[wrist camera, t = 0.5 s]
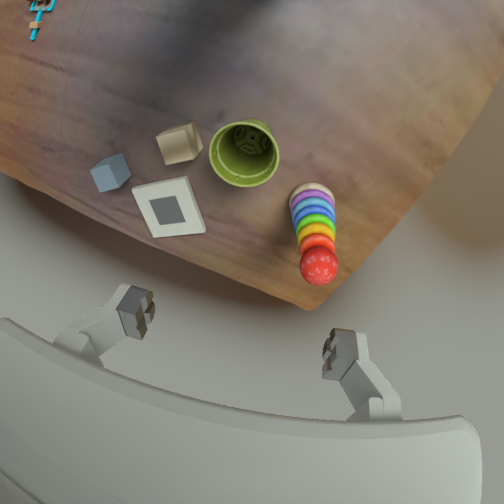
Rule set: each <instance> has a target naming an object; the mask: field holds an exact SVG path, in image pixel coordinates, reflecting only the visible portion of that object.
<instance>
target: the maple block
mask: <svg viewBox="0 0 504 504" xmlns="http://www.w3.org/2000/svg"><path fill="white" fill-rule="evenodd" d="M156 139H157V142H158V145H159V148H160V151H161V153H162V156H163V159H164V162H165V164H166V165H169V164H173V163H178V162H182V161H187V160H192V159H194V158H195V157H196V156H197V155H198V154H199V152H200V151H201V150H202V149H203V145H202V142H201V139H200V135H199V132H198V128H197V125H196V122H195V121H192V122H188V123H184V124H180V125H176V126H173V127H169V128H167V129H166V130H164V131H163V132H162V133H160V134H159V135H158V136H157V137H156Z"/></svg>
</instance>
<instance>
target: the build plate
mask: <svg viewBox="0 0 504 504" xmlns="http://www.w3.org/2000/svg"><path fill="white" fill-rule="evenodd" d="M131 190H132V193H133V195H134V197H135V199H136V202H137V204H138V206H139V208H140V210H141V212H142V215H143V217H144V219H145V221H146V223H147V225H148V227H149V229H150V231H151V233H152V235H153V237H154V238H156V237H166V236H176V235H185V234H196V233H205V230H206V227H205V225H204V222H203V219H202V216H201V214H200V211H199V208H198V205H197V203H196V200H195V197H194V194H193V191H192V188H191V186H190V183H189V180H188V177H187V176H182V177H177V178H172V179H167V180H162V181H157V182H153V183H148V184H144V185H139V186H135V187H133V188H132V189H131Z"/></svg>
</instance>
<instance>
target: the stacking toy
mask: <svg viewBox="0 0 504 504" xmlns="http://www.w3.org/2000/svg"><path fill="white" fill-rule="evenodd" d="M289 207H290V212H291V216H292V221H293V224H294V229H295V232H296V236H297V242H298V245H299V253H300V255H301V257H302V258H301V260H300V272H301V274H302V276H303V278H304V279H305V280H306V281H307V282H308V283H310V284H313V285H325V284H327V283H329V282H331V281H332V280H333V279H334V277H335V276H336V274H337V271H338V261H337V258H336V256H335V254H334V253H335V244H334V242H335V200H334V196H333V194H332V193H331V191H330V190H329V189H328V188H326V187H325V186H323V185H321V184H318V183H306V184H303V185H300V186H299V187H297V188H296V189H295V190H294V191H293V192H292V194H291V196H290V200H289Z"/></svg>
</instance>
